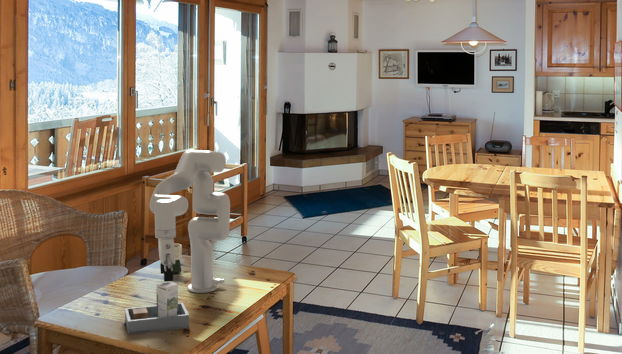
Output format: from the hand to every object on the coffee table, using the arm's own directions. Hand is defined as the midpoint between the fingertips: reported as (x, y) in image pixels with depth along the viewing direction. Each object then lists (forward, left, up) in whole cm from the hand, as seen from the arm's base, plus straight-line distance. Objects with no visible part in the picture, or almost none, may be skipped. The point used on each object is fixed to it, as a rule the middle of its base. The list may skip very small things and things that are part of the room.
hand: (166, 277), depth 265 cm
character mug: (-12, -63, -18) cm, 66 cm away
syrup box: (0, 0, -17) cm, 17 cm away
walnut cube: (+10, 0, -17) cm, 20 cm away
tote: (+4, 0, -18) cm, 19 cm away
